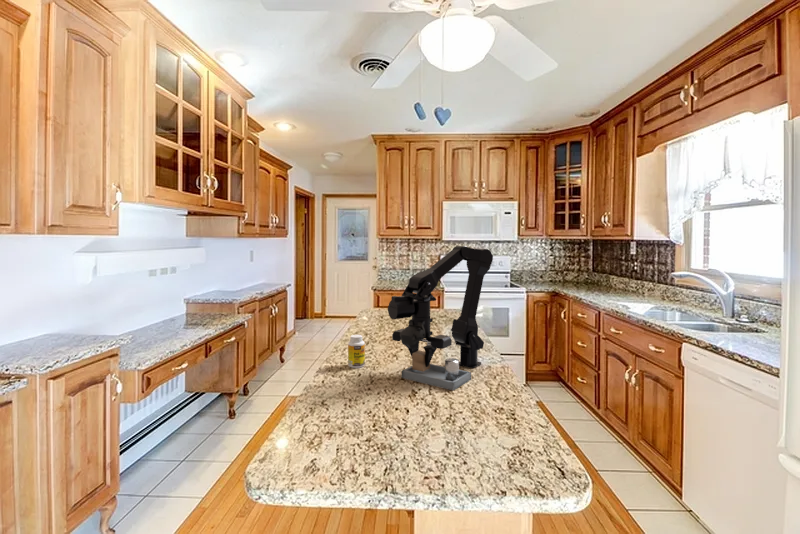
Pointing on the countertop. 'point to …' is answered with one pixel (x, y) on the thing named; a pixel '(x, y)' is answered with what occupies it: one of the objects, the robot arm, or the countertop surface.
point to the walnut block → (419, 361)
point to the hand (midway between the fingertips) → (421, 365)
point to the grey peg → (451, 369)
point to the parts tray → (436, 377)
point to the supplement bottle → (356, 351)
